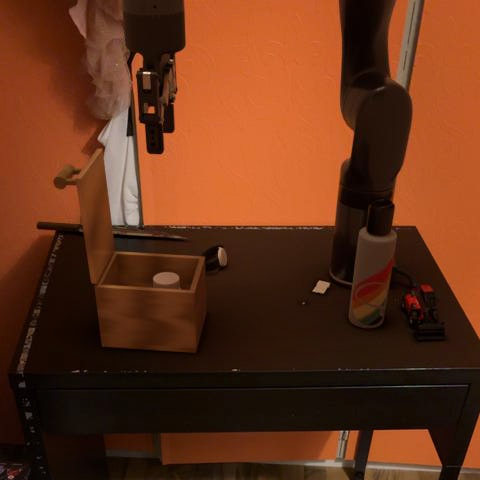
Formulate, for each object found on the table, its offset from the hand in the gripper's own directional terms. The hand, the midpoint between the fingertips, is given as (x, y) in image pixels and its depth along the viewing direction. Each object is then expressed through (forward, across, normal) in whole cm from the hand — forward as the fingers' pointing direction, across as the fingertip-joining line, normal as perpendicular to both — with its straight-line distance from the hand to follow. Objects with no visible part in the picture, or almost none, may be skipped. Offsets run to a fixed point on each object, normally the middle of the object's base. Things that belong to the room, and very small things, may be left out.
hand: (161, 142), depth 100 cm
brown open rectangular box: (+29, -1, +2) cm, 29 cm away
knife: (+28, +32, +2) cm, 43 cm away
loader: (+30, +7, -40) cm, 50 cm away
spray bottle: (+30, +6, -31) cm, 43 cm away
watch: (+29, +22, -4) cm, 37 cm away
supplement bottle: (+28, -1, 0) cm, 28 cm away
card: (+29, +14, -23) cm, 39 cm away
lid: (+11, -1, +9) cm, 14 cm away
